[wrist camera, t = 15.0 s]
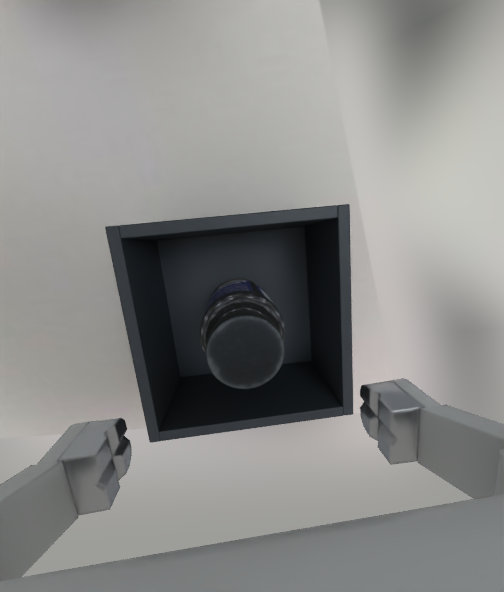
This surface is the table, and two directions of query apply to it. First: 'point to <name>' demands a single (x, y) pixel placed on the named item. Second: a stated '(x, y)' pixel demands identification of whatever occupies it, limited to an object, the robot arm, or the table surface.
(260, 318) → the pill bottle
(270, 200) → the table surface
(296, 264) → the open square box
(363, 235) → the table surface
